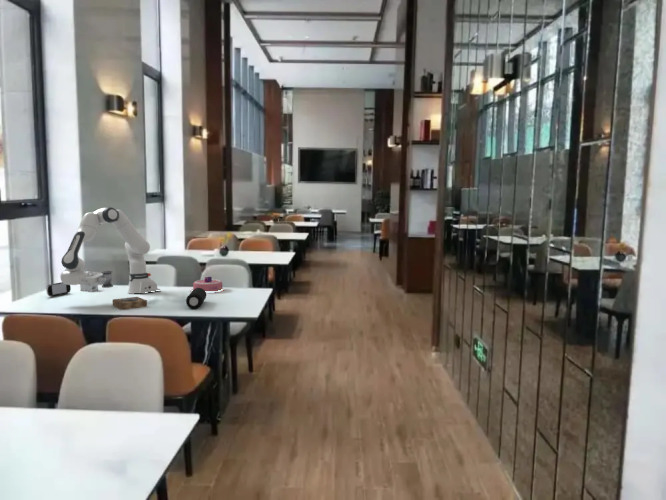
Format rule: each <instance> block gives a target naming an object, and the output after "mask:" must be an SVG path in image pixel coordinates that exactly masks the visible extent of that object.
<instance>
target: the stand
mask: <svg viewBox="0 0 666 500" xmlns="http://www.w3.org/2000/svg"><path fill="white" fill-rule="evenodd" d="M112 306H113V307H115V308H117V309H120V310H130V309H138V308H146V306H147V307H148V300H147V299H144V298H141V297H140V296H131V297H123V298H114V299H112Z"/></svg>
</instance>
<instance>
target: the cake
mask: <svg viewBox="0 0 666 500" xmlns="http://www.w3.org/2000/svg"><path fill="white" fill-rule="evenodd" d="M192 286H193V289H192V290H194V289H196V288H202V289H203V290H205V291H218V290H221V289H223V281H222V280H220V279H214V278H212V276H208V277H207V276H205V277H204V278H202V279H197V280H195V281H194V282H193V285H192Z"/></svg>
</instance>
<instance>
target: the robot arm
mask: <svg viewBox="0 0 666 500" xmlns="http://www.w3.org/2000/svg"><path fill="white" fill-rule="evenodd" d="M110 223H111V224H112V226H113V227H114V229H115V231H116V232H117V234H118V235H119V236H120V238H121V239H123V241H125V243H124V248H125V250H126V252H127V254H126V255H127V258H128V264H129V274H128V278H129V285H128V291H127V293H128V294H134V293H145V292H151V291H156V290H161V288H158V284H157V282H156V281H155V280H154V279H152V278H150V277H151V276H152V274H151V273H150V272H149V273H148V272H147V263H146V260H145V257H144V255H145V254H148V253H149V252H150V250H151V244H150V243H149V242H148V241H146V239H145V237H143V235H141V233H139V232H138V230H137V229H136V228H135V227H134V224H133V223H132V222H131V221H130V219H129V217H128V216H127V215H126V214H125V213H124V211H122V209H116V208H114V207H112V206H107V207H101V208H98V209H94V210H93V211H92V212H91V211H90V212H89V211H88V212H86V213H85V214H84V215H83V216H82V218H81V221H80V223H79V226H78V229H77V231H76V233H75V234H74V235H73V238H72V240H71V242H70V245H69V247H68V249H67V251H66V252H65V253H64V255H63V256H62V258H61V264H62V267H64V268H65V270H63V271H62V272H61V273H60V281H61V282H63V283H64V284H67V285H70V286H78V285H90V284H94V283H97V282H98V283H100V282H103V281H106V280H107V278H103V273H102V272H97V271H96V272H95V271H94V270H93V271H90V270H89V271H85V270H86V266H87V265H86V262H85V261H84V260H83V259H81V258H80V257H79V253H80V249H81V247H82V245H83V243H84V242H90V241H92V240H94V238H95V236H96V235H97V231H98V228H99V225H107V224H108V225H109V224H110ZM134 295H135V294H134Z"/></svg>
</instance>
